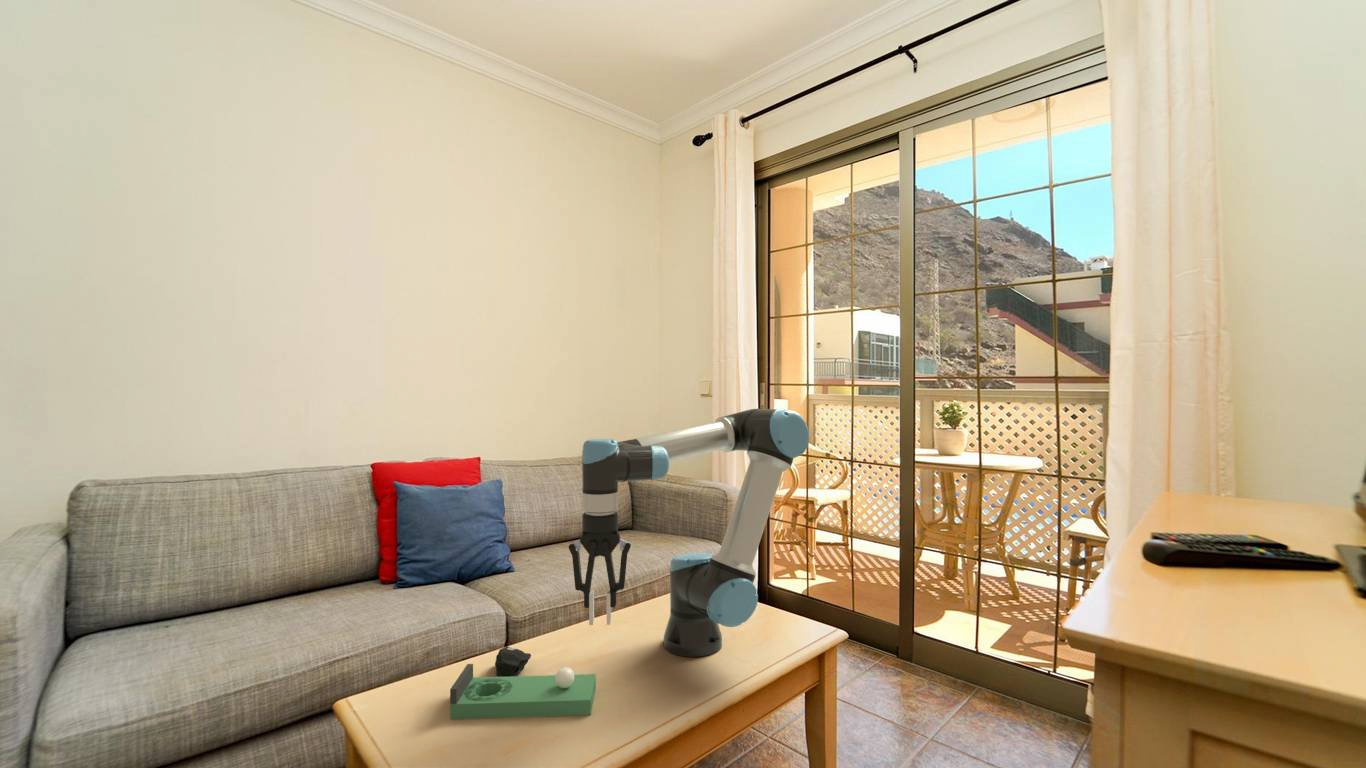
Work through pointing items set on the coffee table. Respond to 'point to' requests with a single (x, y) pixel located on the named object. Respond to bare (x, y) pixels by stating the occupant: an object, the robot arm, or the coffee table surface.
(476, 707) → the green
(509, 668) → the mineral
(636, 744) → the coffee table surface
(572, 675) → the ball
